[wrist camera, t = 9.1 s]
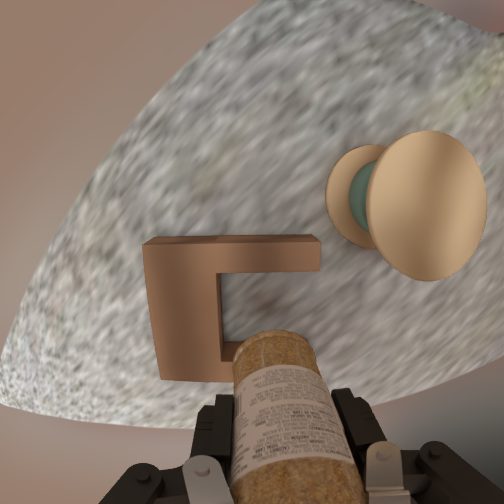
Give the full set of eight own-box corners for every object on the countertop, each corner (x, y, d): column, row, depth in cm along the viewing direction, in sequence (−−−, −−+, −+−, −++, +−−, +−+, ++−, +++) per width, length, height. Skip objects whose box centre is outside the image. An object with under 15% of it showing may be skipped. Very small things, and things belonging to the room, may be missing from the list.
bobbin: (415, 151, 21) (487, 143, 13) (412, 246, 23) (479, 277, 14) (324, 142, 21) (370, 120, 13) (324, 247, 23) (366, 285, 14)
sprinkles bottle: (292, 401, 16) (340, 615, 3) (219, 381, 16) (202, 623, 3) (329, 339, 16) (444, 573, 2) (249, 313, 15) (273, 616, 2)
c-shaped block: (311, 234, 23) (321, 242, 20) (305, 359, 25) (311, 379, 22) (154, 237, 23) (141, 244, 20) (168, 360, 25) (160, 379, 22)
